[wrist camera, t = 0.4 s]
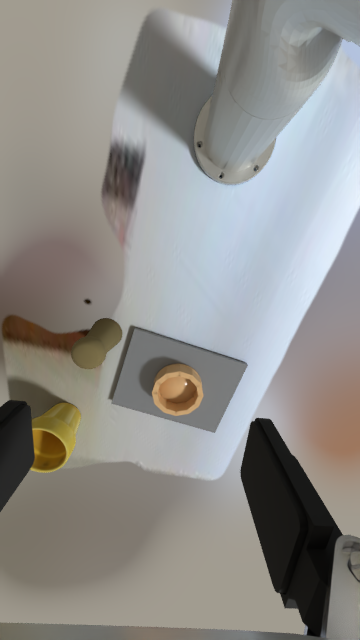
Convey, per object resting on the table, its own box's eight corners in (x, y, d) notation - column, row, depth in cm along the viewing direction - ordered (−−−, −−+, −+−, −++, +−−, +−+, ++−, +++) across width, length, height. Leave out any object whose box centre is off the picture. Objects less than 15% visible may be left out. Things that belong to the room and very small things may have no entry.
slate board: (135, 327, 44) (134, 328, 43) (246, 362, 46) (247, 365, 45) (112, 400, 49) (111, 403, 48) (214, 429, 51) (214, 432, 50)
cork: (102, 351, 45) (79, 381, 35) (85, 326, 44) (56, 349, 33) (127, 339, 45) (112, 365, 34) (112, 313, 43) (90, 332, 32)
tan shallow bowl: (162, 357, 45) (161, 365, 41) (208, 371, 46) (210, 380, 42) (147, 397, 47) (145, 407, 44) (191, 410, 48) (192, 421, 45)
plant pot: (39, 393, 48) (5, 427, 39) (87, 395, 48) (65, 429, 39) (45, 432, 51) (15, 472, 42) (90, 433, 51) (71, 474, 42)
